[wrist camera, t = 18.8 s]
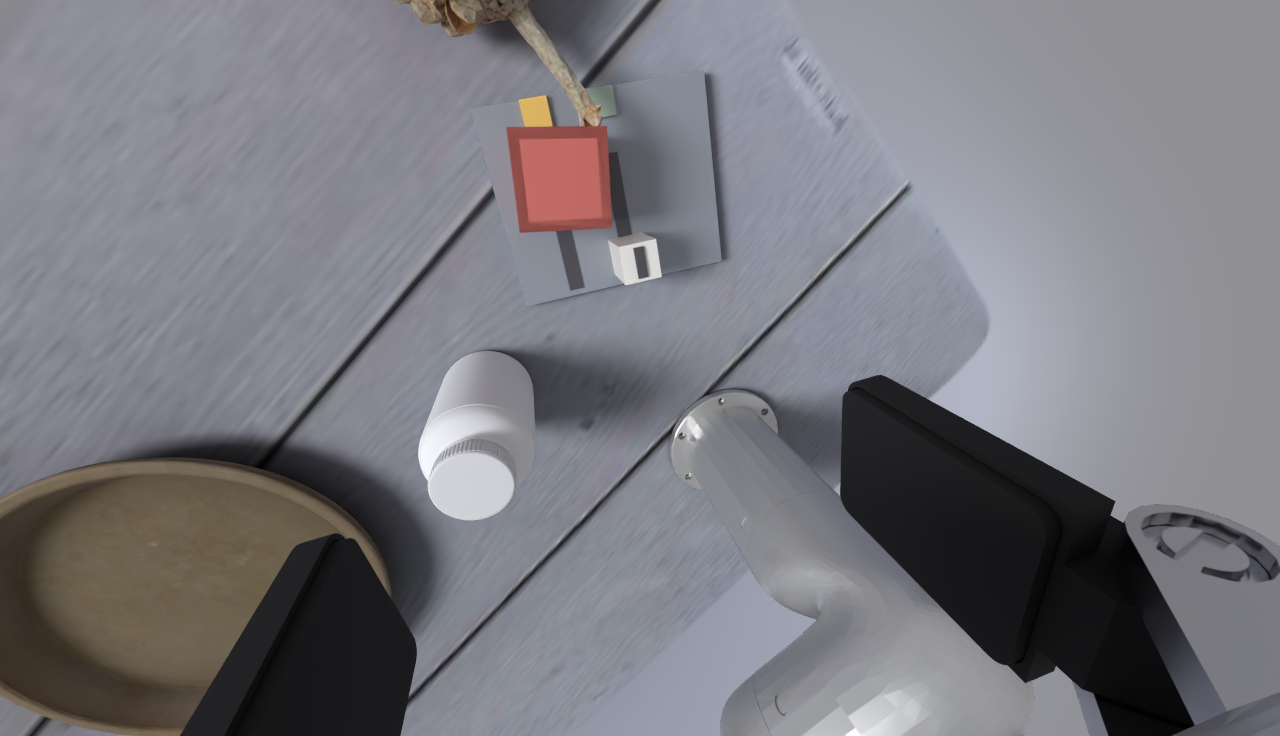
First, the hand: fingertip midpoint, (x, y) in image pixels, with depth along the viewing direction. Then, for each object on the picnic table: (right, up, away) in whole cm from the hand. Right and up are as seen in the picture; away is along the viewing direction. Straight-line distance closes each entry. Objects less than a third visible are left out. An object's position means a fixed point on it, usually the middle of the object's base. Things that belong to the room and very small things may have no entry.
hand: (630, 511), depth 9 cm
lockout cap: (-6, +17, +27) cm, 33 cm away
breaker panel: (-2, +17, +29) cm, 34 cm away
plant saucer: (-40, -17, +34) cm, 55 cm away
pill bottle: (-14, +1, +33) cm, 36 cm away
